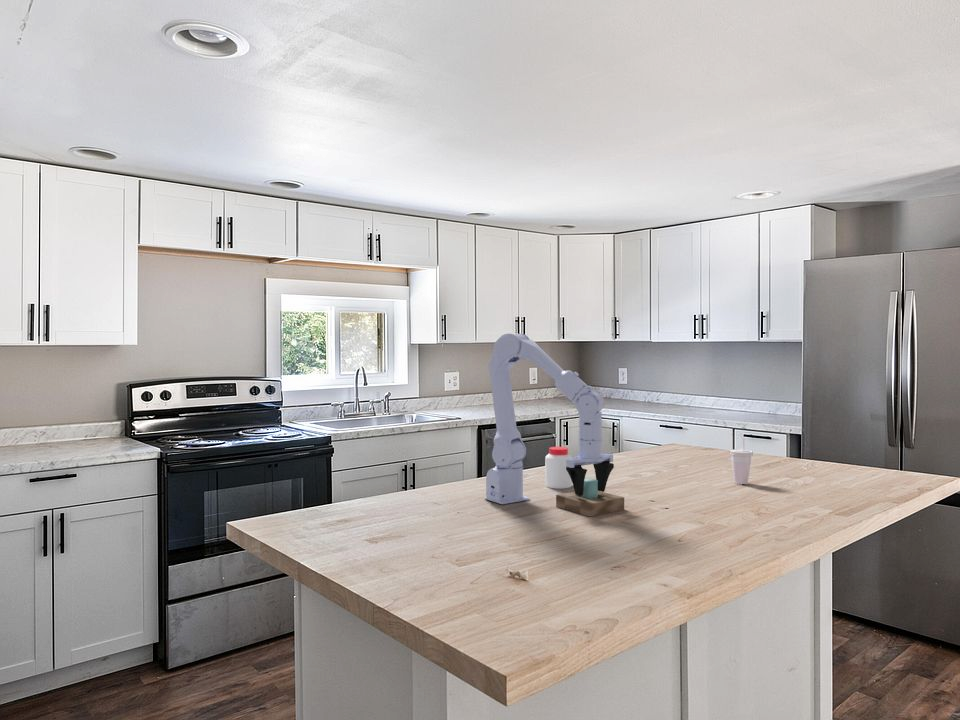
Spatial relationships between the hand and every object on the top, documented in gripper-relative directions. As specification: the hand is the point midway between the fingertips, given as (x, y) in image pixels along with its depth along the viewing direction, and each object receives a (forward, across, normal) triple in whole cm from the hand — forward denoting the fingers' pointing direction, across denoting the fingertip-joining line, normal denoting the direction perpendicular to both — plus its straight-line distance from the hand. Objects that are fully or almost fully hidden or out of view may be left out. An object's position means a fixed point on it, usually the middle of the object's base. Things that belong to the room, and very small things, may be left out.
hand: (589, 492), depth 169 cm
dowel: (+4, 0, 0) cm, 4 cm away
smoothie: (+4, +57, -5) cm, 57 cm away
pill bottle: (+4, +11, +24) cm, 27 cm away
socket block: (+4, 0, 0) cm, 4 cm away
